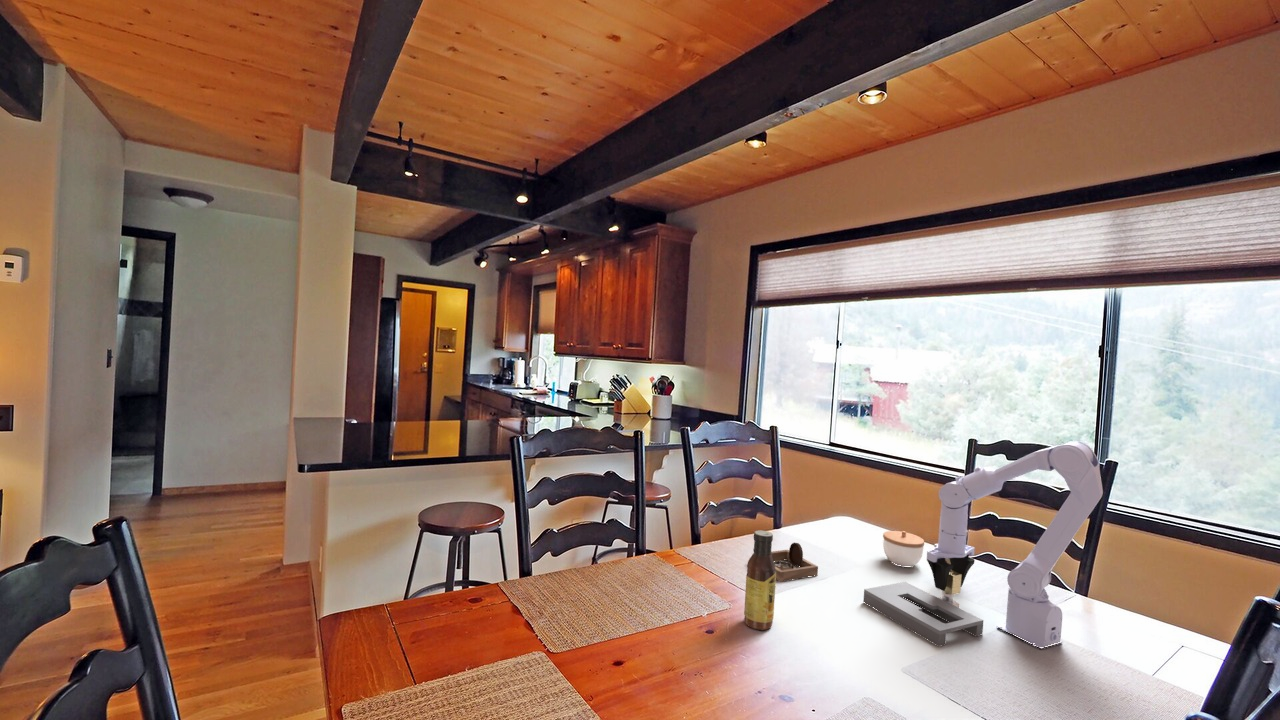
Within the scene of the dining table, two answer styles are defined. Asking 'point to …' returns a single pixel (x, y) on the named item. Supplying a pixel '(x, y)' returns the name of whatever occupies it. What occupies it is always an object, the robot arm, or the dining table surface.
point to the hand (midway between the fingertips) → (948, 587)
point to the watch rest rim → (789, 574)
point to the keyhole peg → (952, 587)
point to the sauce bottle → (760, 583)
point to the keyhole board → (912, 616)
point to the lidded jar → (903, 547)
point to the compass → (791, 557)
